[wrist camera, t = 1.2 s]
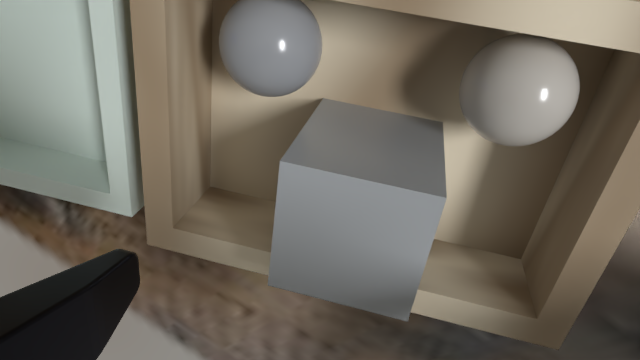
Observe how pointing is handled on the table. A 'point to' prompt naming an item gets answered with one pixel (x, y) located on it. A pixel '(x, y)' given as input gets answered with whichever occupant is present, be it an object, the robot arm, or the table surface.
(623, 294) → the table surface
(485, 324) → the crate
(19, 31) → the tub
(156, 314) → the table surface
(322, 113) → the stone block
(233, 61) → the grey ball
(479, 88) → the grey ball
